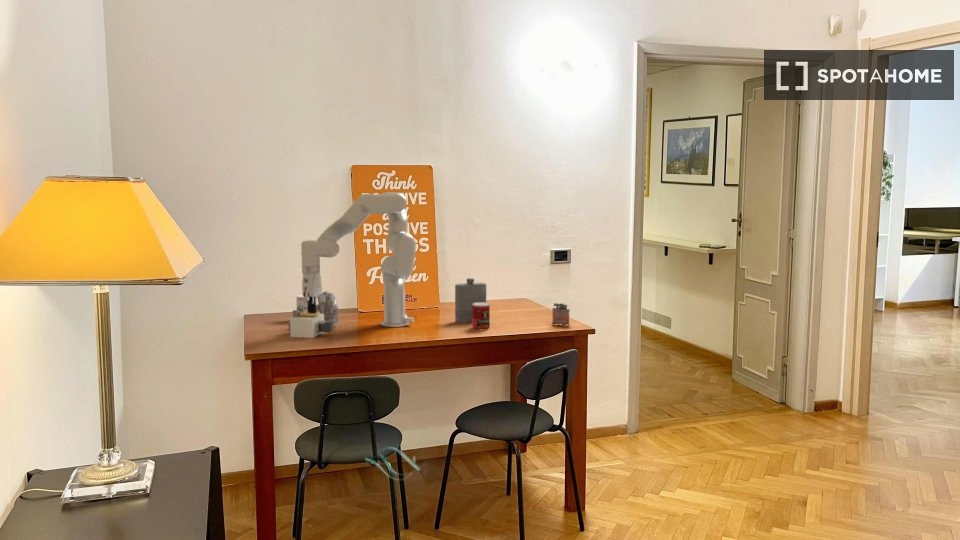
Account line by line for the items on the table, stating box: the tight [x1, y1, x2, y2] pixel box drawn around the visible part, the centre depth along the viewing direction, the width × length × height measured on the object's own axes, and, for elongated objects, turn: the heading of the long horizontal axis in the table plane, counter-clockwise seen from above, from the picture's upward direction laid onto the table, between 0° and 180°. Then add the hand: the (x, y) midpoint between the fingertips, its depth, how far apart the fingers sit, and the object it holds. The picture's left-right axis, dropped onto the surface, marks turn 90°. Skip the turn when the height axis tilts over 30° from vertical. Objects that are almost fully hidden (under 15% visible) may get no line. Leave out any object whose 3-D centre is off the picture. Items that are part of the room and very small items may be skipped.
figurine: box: [316, 291, 339, 329], centre depth 336 cm, size 10×11×15 cm
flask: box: [454, 277, 487, 324], centre depth 346 cm, size 15×6×20 cm, turn 109°
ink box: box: [296, 294, 308, 311], centre depth 348 cm, size 9×5×12 cm, turn 84°
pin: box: [287, 320, 333, 335], centre depth 319 cm, size 19×6×5 cm, turn 78°
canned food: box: [471, 302, 491, 330], centre depth 332 cm, size 8×8×11 cm
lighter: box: [551, 302, 571, 325], centre depth 338 cm, size 8×3×10 cm, turn 65°
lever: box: [298, 310, 320, 316], centre depth 319 cm, size 10×4×2 cm, turn 78°
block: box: [289, 308, 324, 339], centre depth 319 cm, size 10×12×11 cm
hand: (312, 312), depth 318 cm, fingers closed
